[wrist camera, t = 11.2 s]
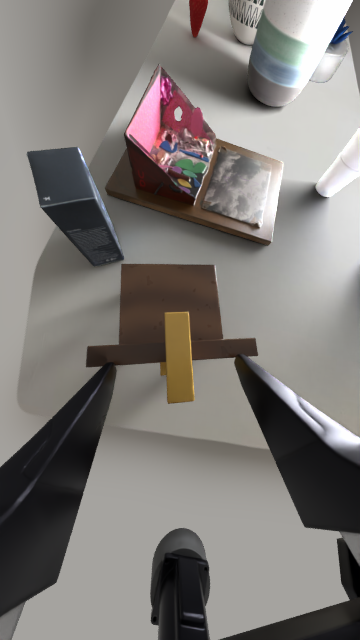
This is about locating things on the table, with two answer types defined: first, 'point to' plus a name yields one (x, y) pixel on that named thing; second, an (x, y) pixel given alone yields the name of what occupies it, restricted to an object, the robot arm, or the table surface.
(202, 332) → the brown legged wooden frame
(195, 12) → the fruit
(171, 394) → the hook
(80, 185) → the box
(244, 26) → the planter
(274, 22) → the vase
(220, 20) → the table surface
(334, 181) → the stacked toilet paper rolls
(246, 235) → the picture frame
